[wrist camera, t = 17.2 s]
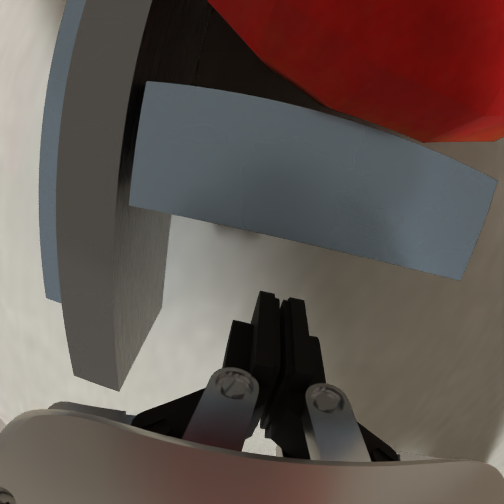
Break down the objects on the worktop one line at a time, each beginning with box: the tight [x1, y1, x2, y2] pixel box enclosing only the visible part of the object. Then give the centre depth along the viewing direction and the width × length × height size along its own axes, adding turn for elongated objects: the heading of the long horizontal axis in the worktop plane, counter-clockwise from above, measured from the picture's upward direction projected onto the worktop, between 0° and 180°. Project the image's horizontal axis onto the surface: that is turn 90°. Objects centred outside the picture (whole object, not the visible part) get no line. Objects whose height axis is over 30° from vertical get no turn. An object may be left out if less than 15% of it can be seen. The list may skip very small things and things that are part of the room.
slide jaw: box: [129, 81, 497, 281], centre depth 10 cm, size 9×3×6 cm, turn 78°
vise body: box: [39, 0, 213, 391], centre depth 9 cm, size 16×22×6 cm
